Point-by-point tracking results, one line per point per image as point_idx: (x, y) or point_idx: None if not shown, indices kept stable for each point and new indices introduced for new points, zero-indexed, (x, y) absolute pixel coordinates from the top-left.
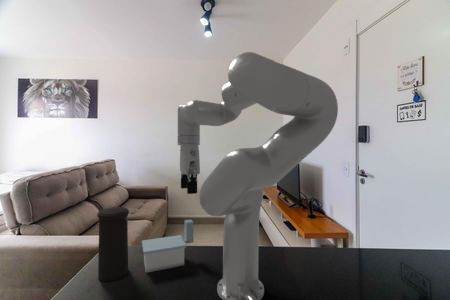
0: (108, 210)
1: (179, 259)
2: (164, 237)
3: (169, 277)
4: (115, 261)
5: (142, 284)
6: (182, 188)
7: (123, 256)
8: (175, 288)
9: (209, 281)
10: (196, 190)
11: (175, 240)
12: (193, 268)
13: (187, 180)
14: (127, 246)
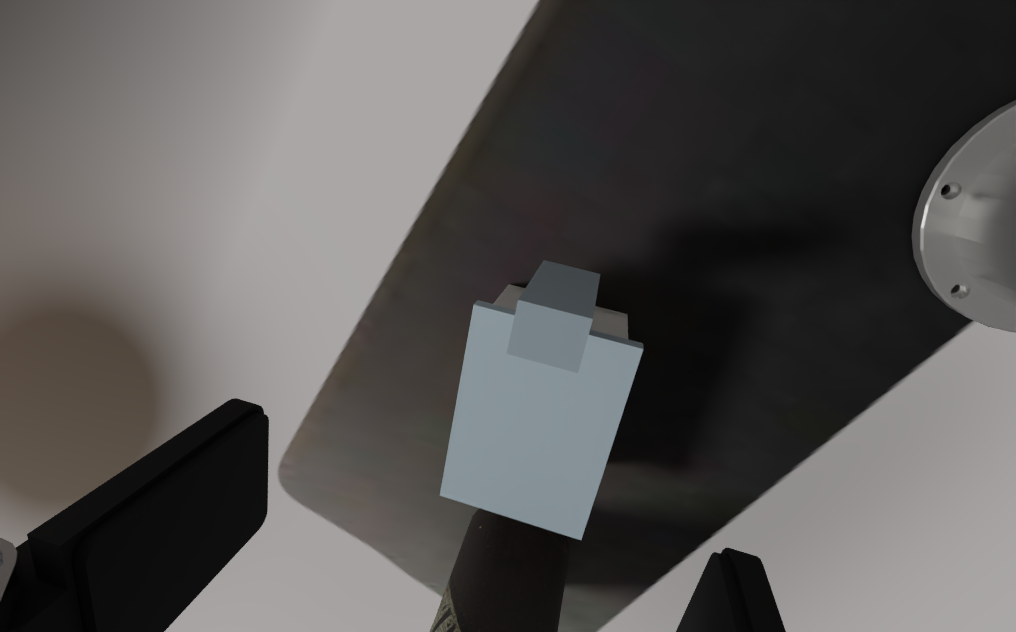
0: None
1: None
2: (460, 396)
3: (681, 409)
4: (559, 611)
5: (657, 500)
6: (262, 500)
7: (548, 590)
8: (776, 427)
9: (848, 291)
10: (765, 600)
11: (538, 368)
12: (685, 293)
13: (155, 538)
14: (514, 592)
